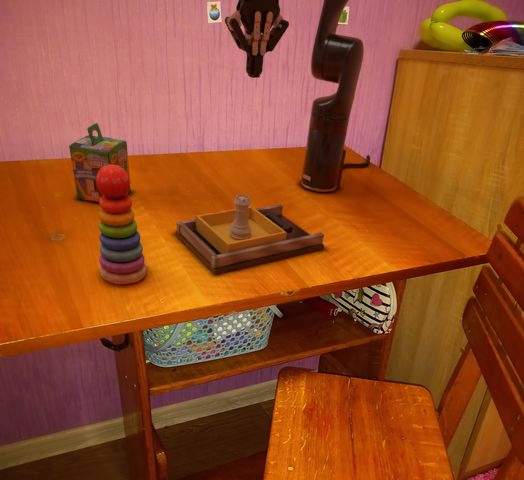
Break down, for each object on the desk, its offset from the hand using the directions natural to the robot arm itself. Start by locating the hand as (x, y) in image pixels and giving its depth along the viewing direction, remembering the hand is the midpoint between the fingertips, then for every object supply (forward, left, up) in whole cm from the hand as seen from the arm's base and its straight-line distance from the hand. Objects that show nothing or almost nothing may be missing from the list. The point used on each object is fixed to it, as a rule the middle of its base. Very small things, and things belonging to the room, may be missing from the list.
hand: (253, 76), depth 94 cm
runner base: (+7, +14, -27) cm, 31 cm away
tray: (+8, +14, -26) cm, 30 cm away
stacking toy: (+34, +16, -27) cm, 46 cm away
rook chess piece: (+10, +14, -25) cm, 30 cm away
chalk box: (+26, -18, -27) cm, 42 cm away
